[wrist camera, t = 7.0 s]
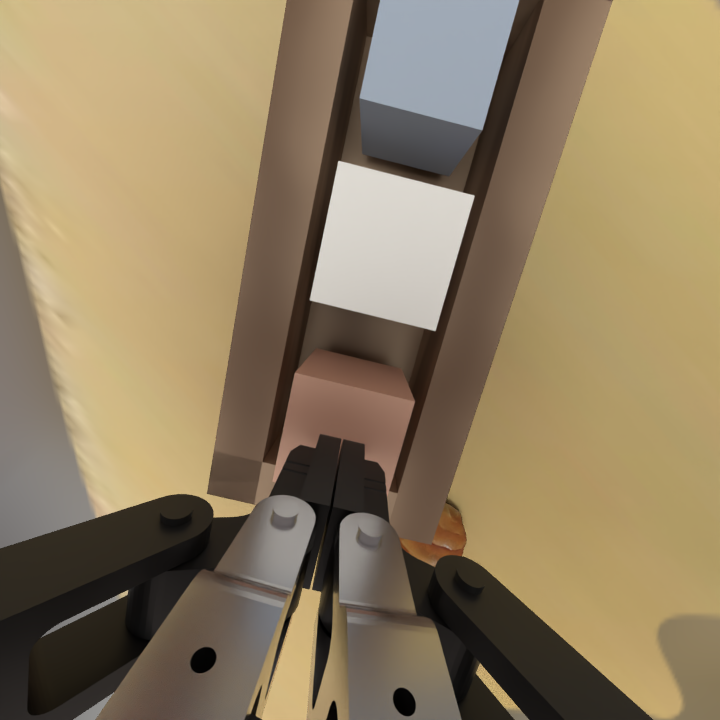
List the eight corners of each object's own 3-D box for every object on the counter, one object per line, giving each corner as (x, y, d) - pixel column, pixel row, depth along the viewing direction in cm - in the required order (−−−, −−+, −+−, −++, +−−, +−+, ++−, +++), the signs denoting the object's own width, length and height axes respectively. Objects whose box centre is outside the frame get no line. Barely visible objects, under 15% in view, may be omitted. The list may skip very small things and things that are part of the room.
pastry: (406, 472, 23) (414, 508, 19) (485, 521, 24) (508, 564, 20) (333, 569, 25) (327, 619, 21) (409, 612, 26) (416, 667, 22)
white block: (441, 224, 16) (474, 195, 11) (415, 318, 16) (435, 330, 12) (347, 201, 15) (338, 160, 11) (327, 296, 16) (309, 300, 11)
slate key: (476, 75, 16) (524, -20, 11) (448, 176, 17) (482, 130, 12) (384, 51, 16) (391, -56, 11) (362, 154, 17) (359, 97, 12)
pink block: (401, 368, 17) (414, 401, 12) (380, 447, 18) (384, 507, 13) (316, 348, 17) (294, 372, 12) (298, 428, 18) (272, 481, 13)
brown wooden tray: (555, 41, 17) (644, -78, 12) (418, 481, 23) (435, 545, 17) (328, -20, 17) (308, -172, 12) (244, 441, 23) (203, 492, 17)
